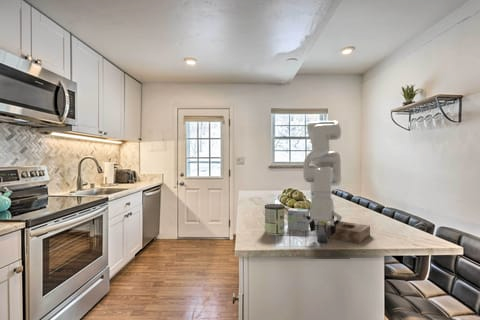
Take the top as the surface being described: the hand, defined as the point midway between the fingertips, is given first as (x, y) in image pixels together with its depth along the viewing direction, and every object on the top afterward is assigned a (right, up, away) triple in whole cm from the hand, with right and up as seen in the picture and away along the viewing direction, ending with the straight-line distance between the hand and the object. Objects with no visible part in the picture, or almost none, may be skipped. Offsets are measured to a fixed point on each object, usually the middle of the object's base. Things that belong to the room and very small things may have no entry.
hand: (322, 232), depth 122 cm
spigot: (0, -4, 0) cm, 4 cm away
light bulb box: (-6, -5, +22) cm, 23 cm away
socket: (+15, -4, +8) cm, 18 cm away
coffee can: (-20, -5, +15) cm, 26 cm away
